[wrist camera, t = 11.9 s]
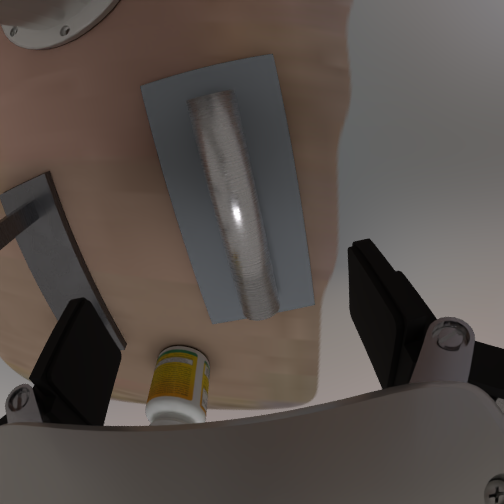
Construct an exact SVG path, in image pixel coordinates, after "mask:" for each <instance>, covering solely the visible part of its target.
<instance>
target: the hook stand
mask: <svg viewBox="0 0 504 504" xmlns="http://www.w3.org/2000/svg"><path fill="white" fill-rule="evenodd" d="M0 199H1V202H2V205H3V208H4V210H5V213H6V216H5V217H4V218H2V219H1V220H0V250H1V249H2V248H3V247H5V246H6V245H7V244H8V243H9V242H10V241H12V240H13V239H14V238H16V240H17V242H18V245H19V247H20V249H21V251H22V253H23V256H24V258H25V260H26V262H27V264H28V266H29V268H30V270H31V272H32V274H33V276H34V278H35V280H36V282H37V284H38V286H39V288H40V290H41V292H42V294H43V295H44V297H45V299H46V301H47V303H48V304H49V306H50V308H51V310H52V312H53V313H54V315H55V317H56V318H57V320H59V319H60V317H61V315H62V313H63V311H64V310H65V308H66V306H67V304H68V303H69V301H70V300H72V299H76V298H81V297H84V298H86V299H87V300H89V301H90V302H91V303H92V304H93V306H94V308H95V310H96V312H97V313H98V315H99V317H100V318H101V320H102V322H103V323H104V325H105V327H106V328H107V330H108V332H109V333H110V335H111V337H112V338H113V340H114V341H115V343H116V345H117V346H118V348H119V349H120V350H125V348H126V345H127V344H126V342H125V340H124V339H123V337H122V335H121V333H120V332H119V330H118V328H117V326H116V324H115V322H114V321H113V319H112V317H111V315H110V313H109V311H108V309H107V307H106V305H105V303H104V301H103V300H102V298H101V296H100V294H99V292H98V289H97V287H96V285H95V283H94V281H93V279H92V277H91V275H90V273H89V271H88V268H87V266H86V264H85V262H84V260H83V257H82V255H81V253H80V251H79V248H78V246H77V244H76V241H75V239H74V236H73V234H72V231H71V229H70V226H69V224H68V221H67V219H66V216H65V214H64V211H63V208H62V206H61V203H60V200H59V197H58V195H57V192H56V189H55V186H54V183H53V180H52V177H51V174H50V171H48V172H46V173H44V174H42V175H40V176H37V177H35V178H33V179H31V180H29V181H27V182H25V183H23V184H20V185H18V186H16V187H14V188H12V189H10V190H8V191H6V192H5V193H3V194H1V195H0Z"/></svg>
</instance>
